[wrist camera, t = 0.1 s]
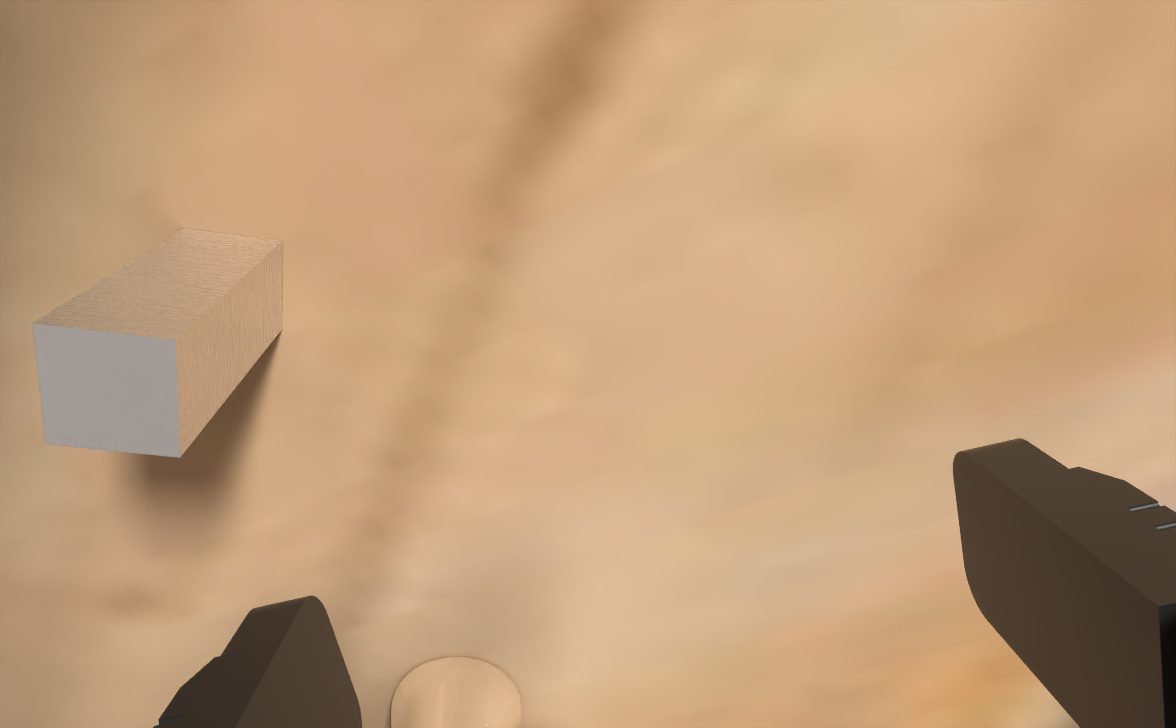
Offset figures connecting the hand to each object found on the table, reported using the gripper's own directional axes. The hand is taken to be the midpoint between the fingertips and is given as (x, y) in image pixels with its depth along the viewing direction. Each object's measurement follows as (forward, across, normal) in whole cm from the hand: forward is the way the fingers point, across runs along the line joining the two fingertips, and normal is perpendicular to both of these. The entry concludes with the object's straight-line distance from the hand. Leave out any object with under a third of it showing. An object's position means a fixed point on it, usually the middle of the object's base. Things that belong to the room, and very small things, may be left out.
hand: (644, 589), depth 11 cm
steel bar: (+22, +13, -3) cm, 26 cm away
